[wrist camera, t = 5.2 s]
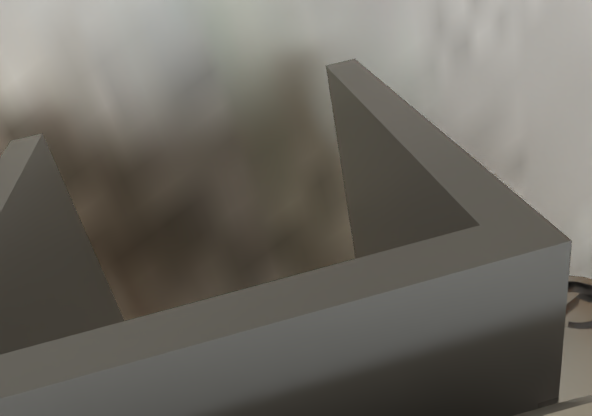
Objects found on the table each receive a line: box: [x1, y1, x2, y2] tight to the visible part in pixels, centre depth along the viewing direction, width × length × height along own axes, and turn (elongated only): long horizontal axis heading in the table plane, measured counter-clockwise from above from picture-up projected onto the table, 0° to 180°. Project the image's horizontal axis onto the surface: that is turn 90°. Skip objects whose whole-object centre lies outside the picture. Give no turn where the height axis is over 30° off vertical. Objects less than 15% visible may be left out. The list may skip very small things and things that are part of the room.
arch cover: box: [0, 59, 572, 416], centre depth 10 cm, size 7×7×7 cm
